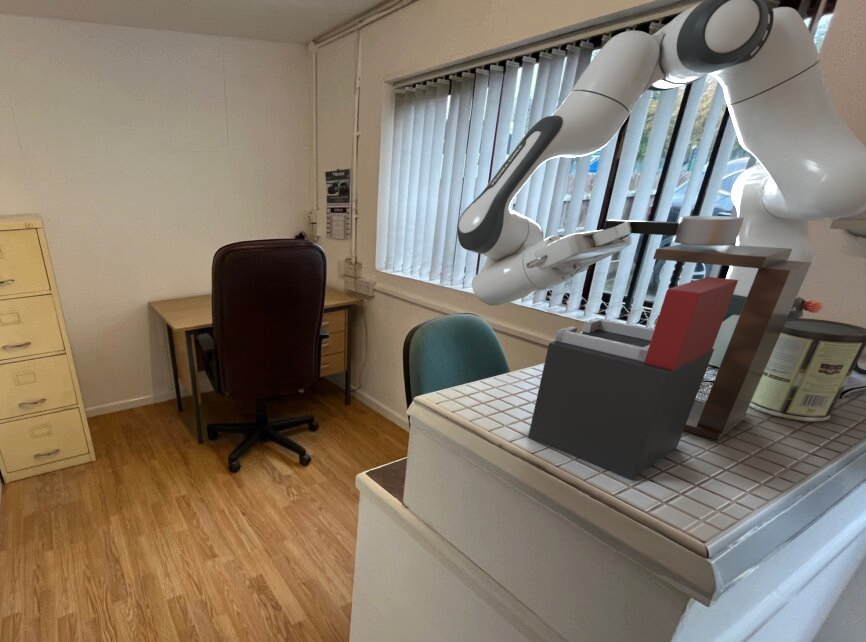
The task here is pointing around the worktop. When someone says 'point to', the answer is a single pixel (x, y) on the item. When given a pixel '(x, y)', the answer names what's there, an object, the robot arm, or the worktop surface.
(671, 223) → the filter holder
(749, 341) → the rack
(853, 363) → the coffee can
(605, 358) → the coffee maker
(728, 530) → the worktop surface
